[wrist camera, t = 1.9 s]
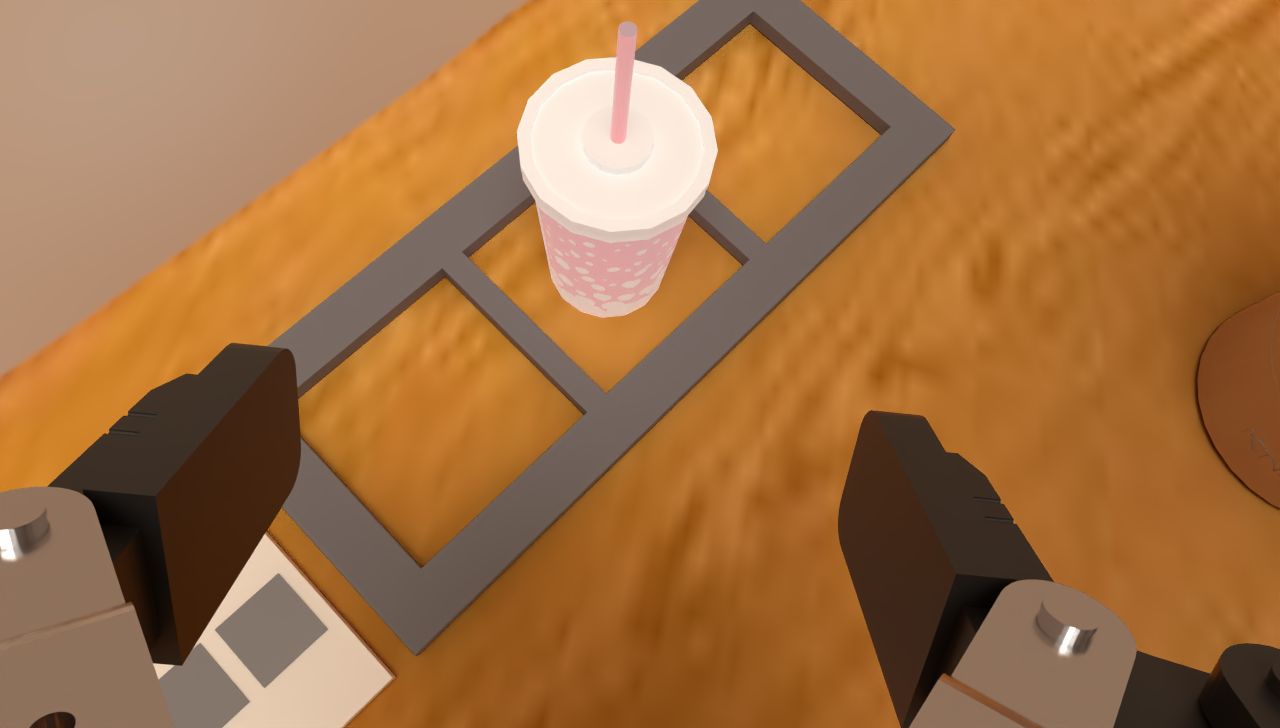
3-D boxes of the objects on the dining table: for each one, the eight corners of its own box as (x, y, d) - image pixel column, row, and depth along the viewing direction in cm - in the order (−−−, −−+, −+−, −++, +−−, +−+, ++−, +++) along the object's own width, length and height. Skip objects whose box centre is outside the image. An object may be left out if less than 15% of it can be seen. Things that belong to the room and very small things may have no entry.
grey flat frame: (747, -28, 40) (750, -41, 39) (947, 139, 38) (955, 129, 37) (200, 412, 32) (191, 406, 31) (418, 655, 30) (414, 655, 29)
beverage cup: (704, 310, 34) (786, 101, 21) (556, 355, 33) (546, 164, 20) (653, 180, 36) (700, -90, 23) (511, 218, 35) (474, -41, 22)
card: (247, 509, 31) (240, 506, 30) (395, 677, 29) (391, 678, 29) (-7, 726, 28) (-21, 728, 27) (144, 921, 27) (133, 929, 26)
